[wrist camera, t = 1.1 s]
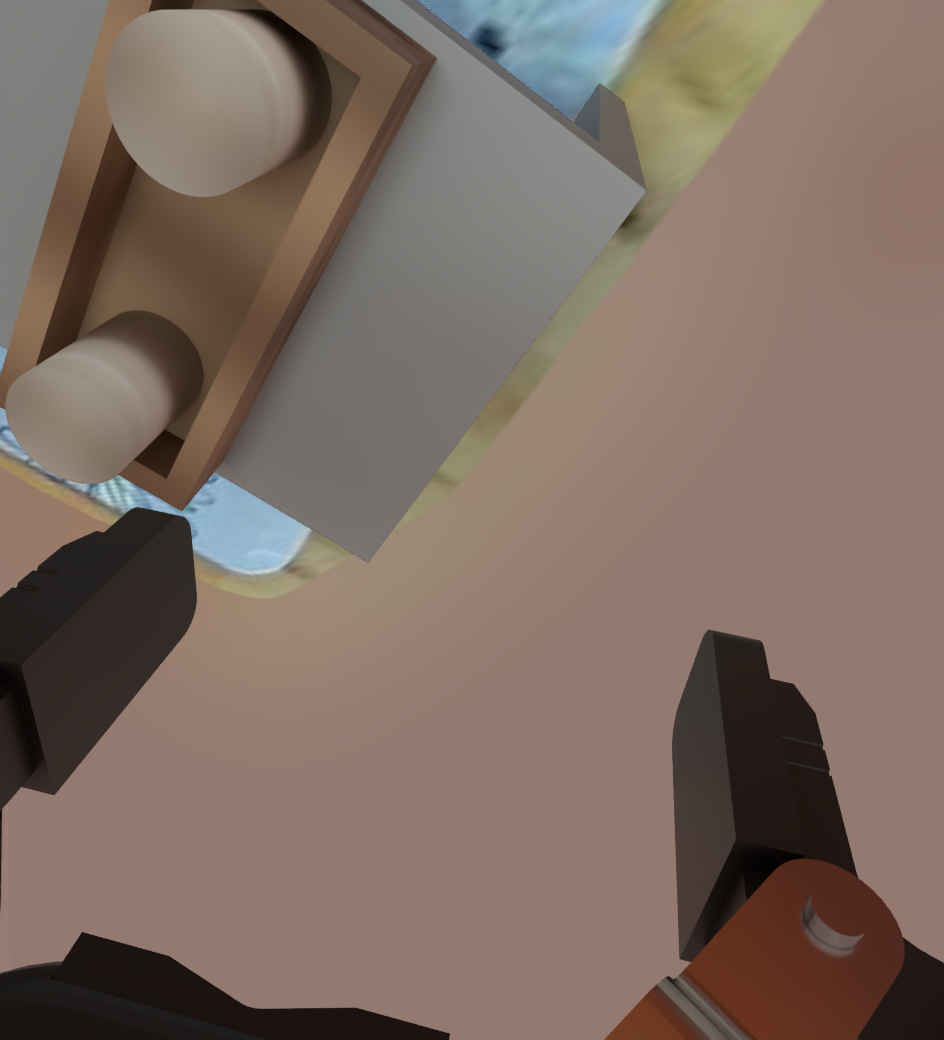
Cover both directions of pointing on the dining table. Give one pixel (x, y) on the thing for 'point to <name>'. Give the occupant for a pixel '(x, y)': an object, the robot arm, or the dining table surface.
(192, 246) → the tray
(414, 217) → the grey hollow frame
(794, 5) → the dining table surface
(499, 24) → the dining table surface
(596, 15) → the dining table surface
